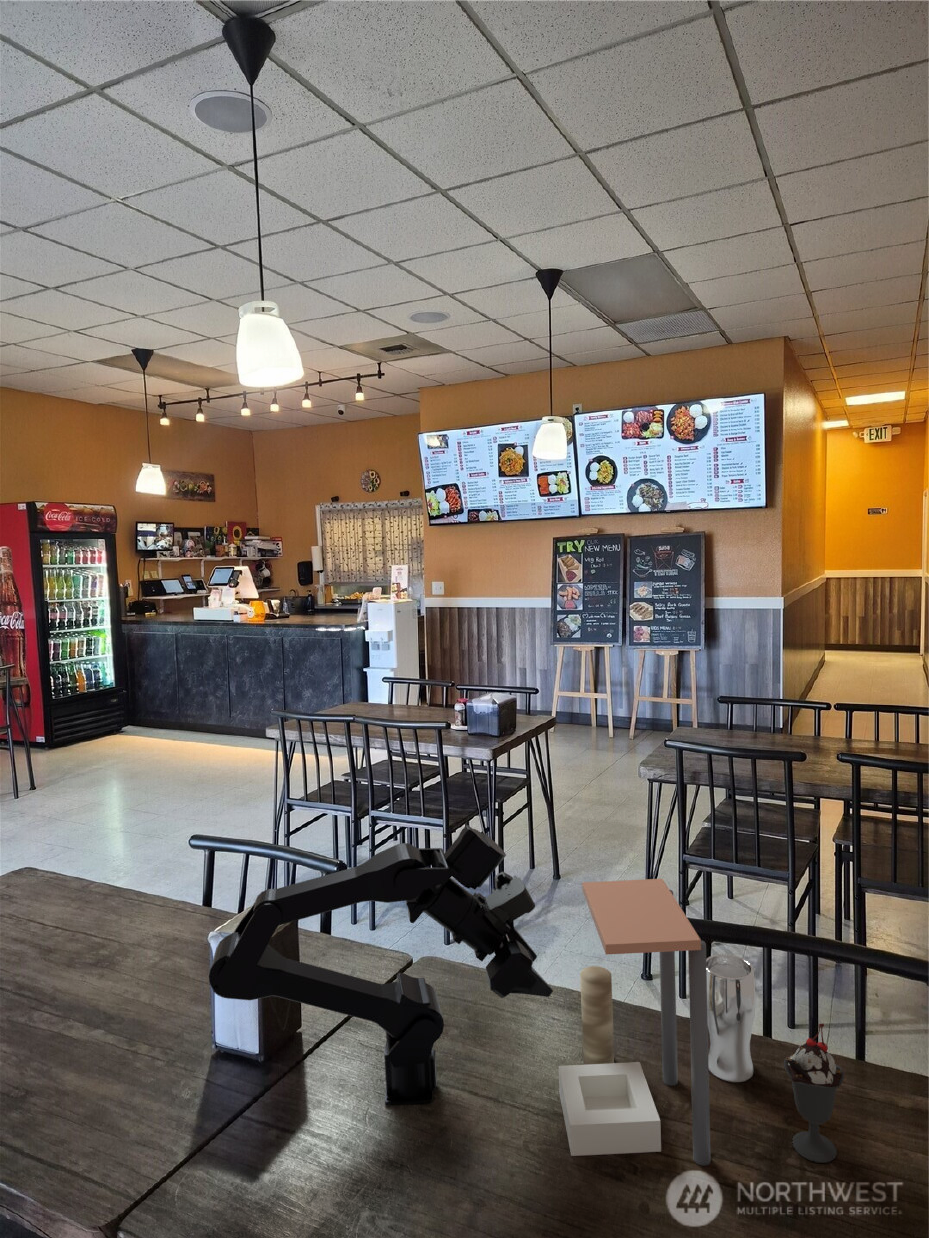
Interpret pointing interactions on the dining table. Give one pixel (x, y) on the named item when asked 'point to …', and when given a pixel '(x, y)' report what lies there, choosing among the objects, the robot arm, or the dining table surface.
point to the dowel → (597, 1015)
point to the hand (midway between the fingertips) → (542, 975)
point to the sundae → (814, 1096)
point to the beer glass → (730, 1016)
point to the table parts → (618, 1092)
